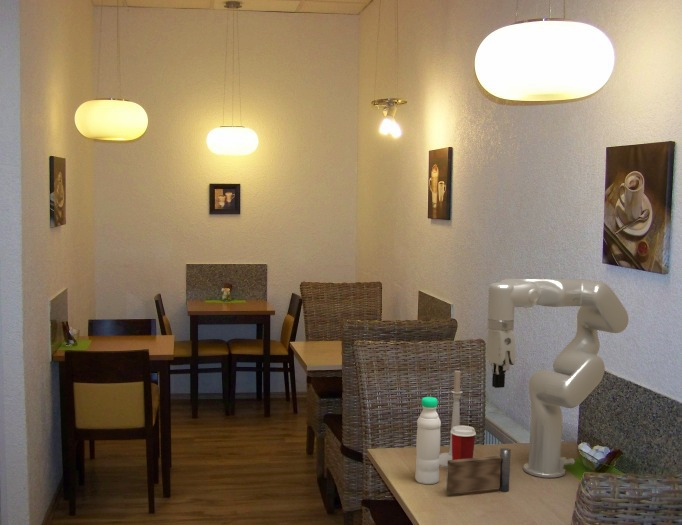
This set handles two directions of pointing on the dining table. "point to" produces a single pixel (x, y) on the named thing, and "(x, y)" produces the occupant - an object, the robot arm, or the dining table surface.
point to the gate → (473, 474)
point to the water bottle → (428, 443)
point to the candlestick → (453, 417)
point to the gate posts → (503, 469)
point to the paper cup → (462, 442)
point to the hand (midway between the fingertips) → (498, 386)
